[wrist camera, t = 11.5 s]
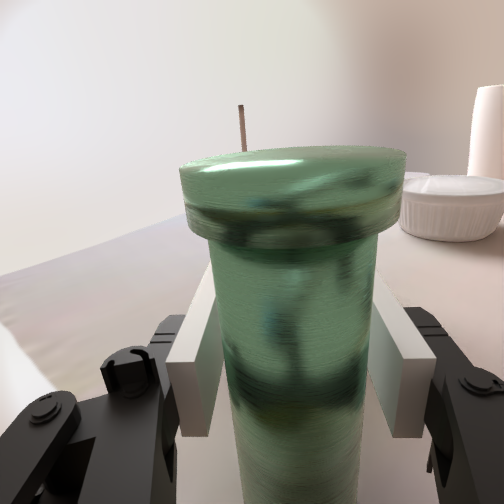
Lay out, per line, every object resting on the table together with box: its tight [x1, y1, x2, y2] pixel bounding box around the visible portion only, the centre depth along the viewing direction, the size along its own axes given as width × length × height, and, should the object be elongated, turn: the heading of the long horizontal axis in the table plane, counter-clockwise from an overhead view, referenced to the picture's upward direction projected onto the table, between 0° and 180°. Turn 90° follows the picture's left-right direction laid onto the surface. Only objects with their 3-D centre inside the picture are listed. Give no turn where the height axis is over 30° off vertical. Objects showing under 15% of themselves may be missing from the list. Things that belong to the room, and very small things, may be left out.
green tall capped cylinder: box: [179, 146, 406, 504], centre depth 14 cm, size 15×5×12 cm, turn 177°
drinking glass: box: [467, 85, 504, 180], centre depth 51 cm, size 7×7×15 cm
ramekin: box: [398, 175, 504, 242], centre depth 36 cm, size 11×11×5 cm
